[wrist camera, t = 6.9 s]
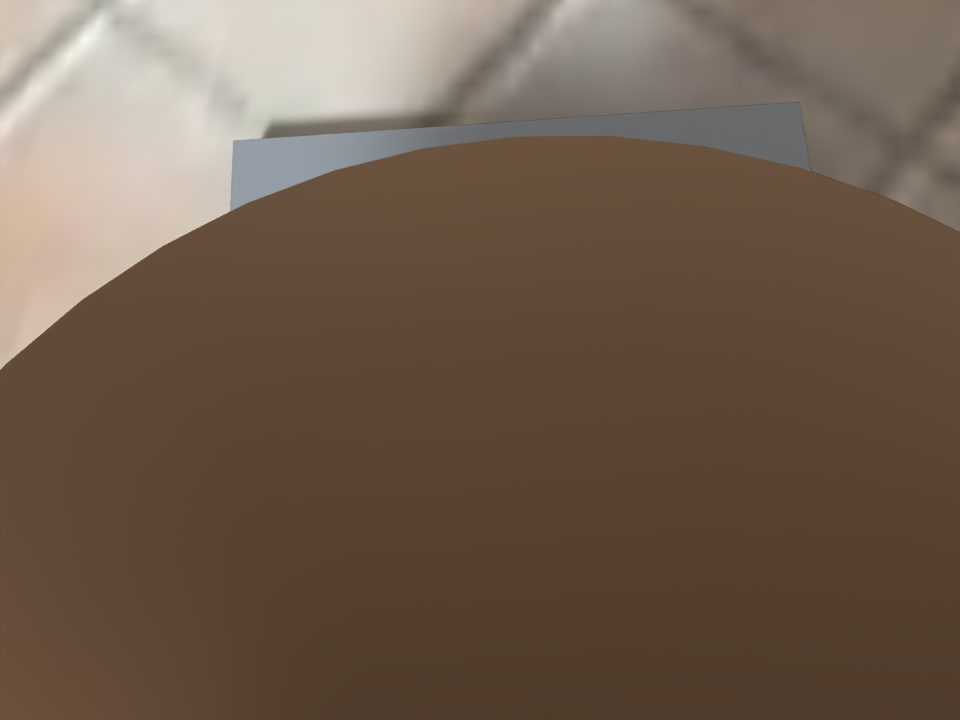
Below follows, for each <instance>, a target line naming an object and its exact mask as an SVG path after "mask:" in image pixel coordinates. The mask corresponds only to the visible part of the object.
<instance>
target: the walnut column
mask: <svg viewBox="0 0 960 720" xmlns="http://www.w3.org/2000/svg"><path fill="white" fill-rule="evenodd" d="M0 720H960V232H959V231H956V230H954V229H952V228H950V227H948V226H946V225H944V224H942V223H940V222H938V221H936V220H934V219H932V218H929V217H927V216H925V215H923V214H921V213H919V212H917V211H915V210H913V209H911V208H909V207H907V206H905V205H903V204H900V203H898V202H896V201H894V200H891V199H888V198H885V197H882V196H879V195H877V194H874V193H871V192H868V191H865V190H862V189H859V188H857V187H854V186H851V185H848V184H845V183H842V182H839V181H837V180H834V179H831V178H828V177H825V176H822V175H819V174H817V173H814V172H811V171H808V170H805V169H802V168H799V167H795V166H790V165H786V164H781V163H777V162H773V161H768V160H764V159H759V158H755V157H750V156H746V155H742V154H737V153H733V152H728V151H724V150H720V149H715V148H711V147H706V146H699V145H690V144H681V143H671V142H662V141H653V140H644V139H634V138H625V137H616V136H529V137H509V138H501V139H493V140H485V141H477V142H469V143H461V144H453V145H445V146H437V147H430V148H423V149H419V150H415V151H411V152H407V153H402V154H398V155H394V156H390V157H386V158H382V159H378V160H374V161H370V162H366V163H362V164H358V165H354V166H350V167H346V168H342V169H338V170H334V171H331V172H328V173H326V174H323V175H320V176H318V177H315V178H312V179H310V180H307V181H304V182H302V183H299V184H296V185H294V186H291V187H288V188H286V189H283V190H280V191H278V192H275V193H272V194H270V195H267V196H264V197H262V198H259V199H256V200H254V201H251V202H248V203H246V204H244V205H242V206H240V207H238V208H236V209H234V210H232V211H230V212H228V213H227V214H225V215H223V216H221V217H219V218H217V219H215V220H213V221H211V222H209V223H207V224H205V225H203V226H201V227H199V228H197V229H195V230H193V231H191V232H190V233H188V234H186V235H184V236H182V237H180V238H178V239H176V240H174V241H172V242H170V243H168V244H166V245H164V246H162V247H161V248H159V249H158V250H156V251H155V252H153V253H152V254H150V255H149V256H147V257H146V258H144V259H143V260H141V261H140V262H138V263H137V264H135V265H134V266H132V267H131V268H129V269H128V270H126V271H125V272H123V273H122V274H120V275H119V276H117V277H116V278H114V279H113V280H111V281H110V282H108V283H107V284H105V285H104V286H102V287H101V288H99V289H98V290H96V291H95V292H93V293H92V294H90V295H89V296H87V297H86V298H84V299H83V300H82V301H80V302H79V303H78V304H77V305H76V306H74V307H73V308H72V309H71V310H70V311H69V312H67V313H66V314H65V315H64V316H63V317H61V318H60V319H59V320H58V321H57V322H55V323H54V324H53V325H52V326H51V327H50V328H48V329H47V330H46V331H45V332H44V333H42V334H41V335H40V336H39V337H38V338H36V339H35V340H34V341H33V342H32V343H31V344H29V345H28V346H27V347H26V348H25V349H23V350H22V351H21V352H20V353H19V354H17V355H16V356H15V357H14V358H13V359H12V360H10V361H9V362H8V363H7V364H6V365H5V366H4V367H3V368H2V369H1V370H0Z"/></svg>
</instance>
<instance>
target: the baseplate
mask: <svg viewBox="0 0 960 720" xmlns="http://www.w3.org/2000/svg"><path fill="white" fill-rule="evenodd" d="M529 136H616V137H625V138H634V139H644V140H653V141H662V142H671V143H681V144H690V145H699V146H706V147H711V148H715V149H720V150H724V151H728V152H733V153H737V154H742V155H746V156H750V157H755V158H759V159H764V160H768V161H773V162H777V163H781V164H786V165H790V166H795V167H799V168H802V169H805V170H808V171H810V165H809V159H808V153H807V146H806V140H805V133H804V127H803V121H802V114H801V108H800V102H791V103H777V104H762V105H747V106H733V107H718V108H704V109H689V110H674V111H660V112H645V113H630V114H616V115H601V116H587V117H572V118H557V119H543V120H528V121H513V122H499V123H484V124H470V125H455V126H440V127H426V128H411V129H396V130H382V131H367V132H353V133H338V134H323V135H309V136H294V137H279V138H265V139H250V140H236V141H233V158H232V182H231V205H230V211H232V210H234V209H236V208H238V207H240V206H242V205H244V204H246V203H248V202H251V201H254V200H256V199H259V198H262V197H264V196H267V195H270V194H272V193H275V192H278V191H280V190H283V189H286V188H288V187H291V186H294V185H296V184H299V183H302V182H304V181H307V180H310V179H312V178H315V177H318V176H320V175H323V174H326V173H328V172H331V171H334V170H338V169H342V168H346V167H350V166H354V165H358V164H362V163H366V162H370V161H374V160H378V159H382V158H386V157H390V156H394V155H398V154H402V153H407V152H411V151H415V150H419V149H423V148H430V147H437V146H445V145H453V144H461V143H469V142H477V141H485V140H493V139H501V138H509V137H529Z"/></svg>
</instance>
